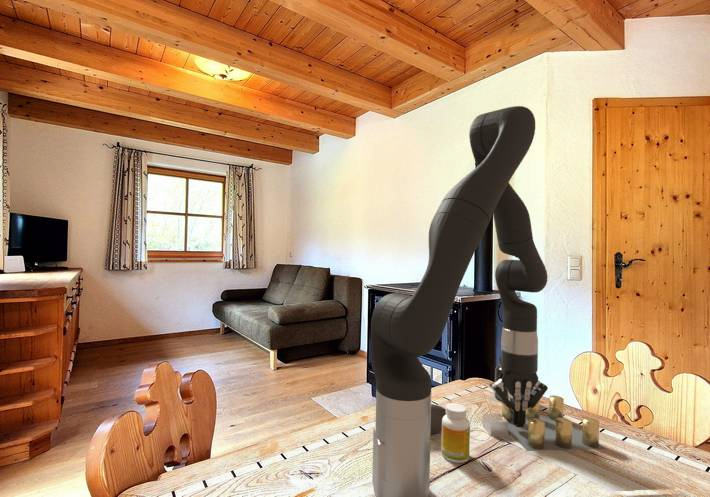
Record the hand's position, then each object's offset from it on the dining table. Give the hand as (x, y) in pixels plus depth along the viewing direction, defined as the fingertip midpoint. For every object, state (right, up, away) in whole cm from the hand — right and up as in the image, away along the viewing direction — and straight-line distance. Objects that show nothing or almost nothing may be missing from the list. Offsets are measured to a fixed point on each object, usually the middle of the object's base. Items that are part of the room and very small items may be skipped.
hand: (517, 425), depth 82 cm
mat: (+3, -2, 0) cm, 4 cm away
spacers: (+7, -2, 0) cm, 7 cm away
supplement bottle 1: (-17, -2, -9) cm, 19 cm away
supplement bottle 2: (+5, -2, +18) cm, 18 cm away
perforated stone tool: (-22, -2, -1) cm, 22 cm away
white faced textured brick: (-5, -1, 0) cm, 5 cm away
